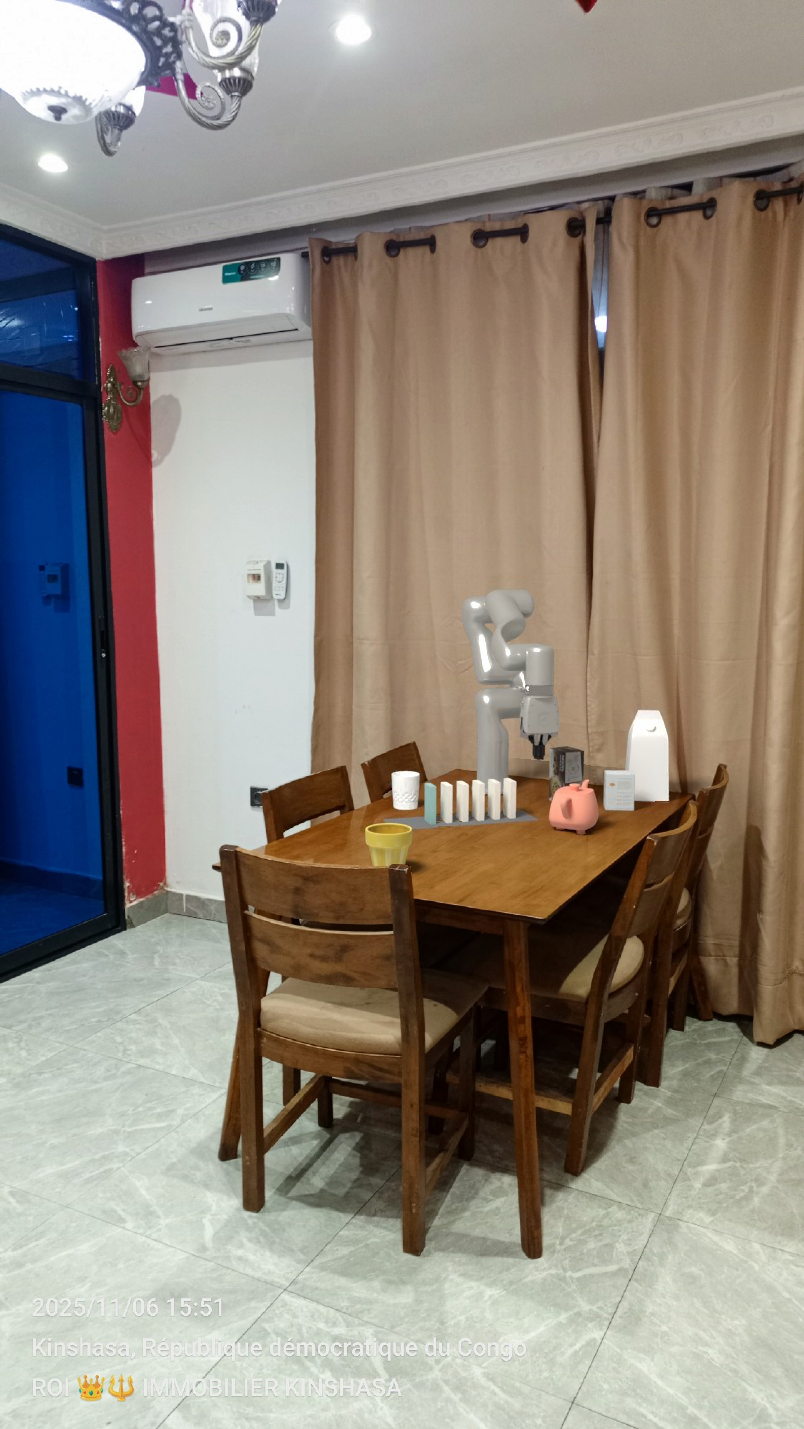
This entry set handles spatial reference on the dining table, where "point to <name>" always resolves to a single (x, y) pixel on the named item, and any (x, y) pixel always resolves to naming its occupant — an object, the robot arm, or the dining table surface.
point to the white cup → (405, 789)
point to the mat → (422, 824)
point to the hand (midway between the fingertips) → (538, 758)
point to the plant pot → (388, 843)
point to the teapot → (574, 808)
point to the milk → (649, 756)
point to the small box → (619, 790)
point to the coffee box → (565, 768)
